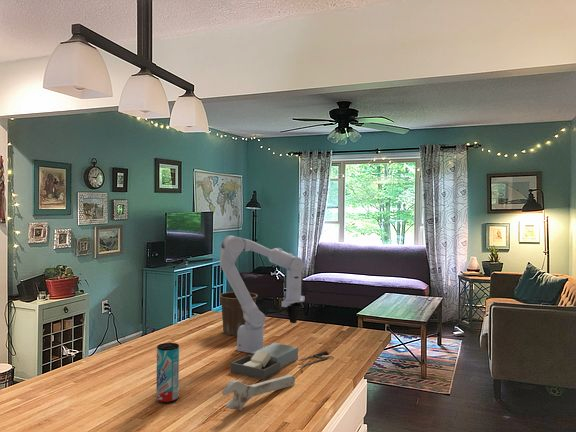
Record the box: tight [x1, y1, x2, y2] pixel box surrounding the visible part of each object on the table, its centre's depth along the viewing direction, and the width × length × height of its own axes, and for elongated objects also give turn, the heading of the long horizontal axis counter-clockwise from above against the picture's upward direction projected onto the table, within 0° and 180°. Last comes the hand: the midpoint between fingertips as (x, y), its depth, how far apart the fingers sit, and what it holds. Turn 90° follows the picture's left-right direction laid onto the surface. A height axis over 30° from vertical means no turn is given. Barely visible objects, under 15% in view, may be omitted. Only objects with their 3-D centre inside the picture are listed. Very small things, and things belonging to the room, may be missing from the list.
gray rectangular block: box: [251, 342, 299, 369], centre depth 163 cm, size 10×14×4 cm
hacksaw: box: [297, 350, 335, 374], centre depth 162 cm, size 24×10×2 cm, turn 131°
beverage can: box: [155, 342, 180, 404], centre depth 129 cm, size 6×6×15 cm
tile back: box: [251, 350, 271, 367], centre depth 154 cm, size 4×4×2 cm
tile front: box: [243, 361, 262, 369], centre depth 151 cm, size 4×4×2 cm
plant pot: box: [218, 291, 259, 337], centre depth 200 cm, size 16×16×16 cm
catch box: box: [230, 354, 281, 381], centre depth 152 cm, size 13×10×3 cm
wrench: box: [222, 374, 296, 411], centre depth 131 cm, size 8×2×30 cm
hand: (293, 322), depth 180 cm, fingers closed
